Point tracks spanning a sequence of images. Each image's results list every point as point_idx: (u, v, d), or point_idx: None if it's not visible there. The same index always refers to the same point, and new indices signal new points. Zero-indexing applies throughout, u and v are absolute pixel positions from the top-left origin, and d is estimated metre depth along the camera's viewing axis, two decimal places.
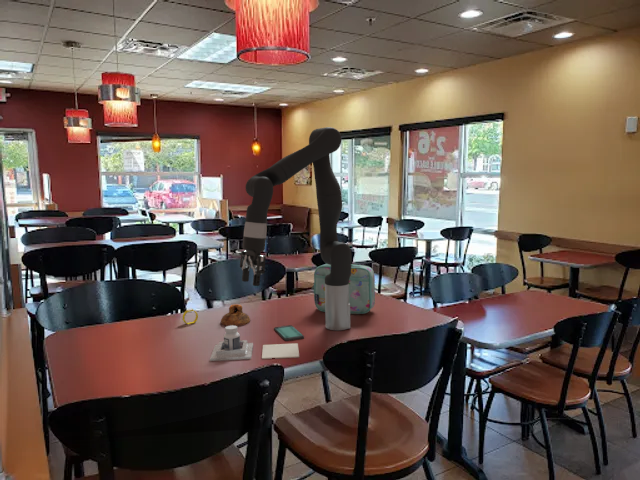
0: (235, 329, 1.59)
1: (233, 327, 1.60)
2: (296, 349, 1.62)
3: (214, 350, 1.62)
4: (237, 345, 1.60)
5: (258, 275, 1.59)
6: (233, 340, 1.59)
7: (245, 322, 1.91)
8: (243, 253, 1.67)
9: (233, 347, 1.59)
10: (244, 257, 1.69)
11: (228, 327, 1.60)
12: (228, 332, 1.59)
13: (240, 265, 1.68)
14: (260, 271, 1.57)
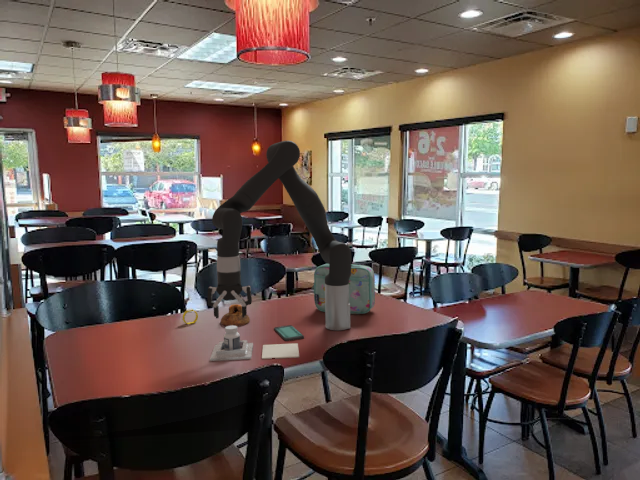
0: (235, 329, 1.59)
1: (233, 327, 1.60)
2: (296, 349, 1.62)
3: (214, 350, 1.62)
4: (237, 345, 1.60)
5: (246, 306, 1.60)
6: (233, 340, 1.59)
7: (245, 322, 1.91)
8: (211, 290, 1.57)
9: (233, 347, 1.59)
10: None
11: (228, 327, 1.60)
12: (228, 332, 1.59)
13: (209, 303, 1.58)
14: (251, 301, 1.60)
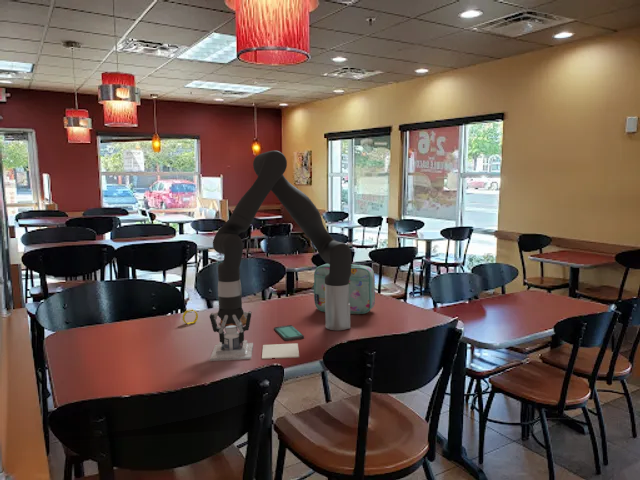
0: (235, 329, 1.59)
1: (233, 327, 1.60)
2: (296, 349, 1.62)
3: (214, 350, 1.62)
4: (237, 344, 1.60)
5: (243, 331, 1.61)
6: (233, 340, 1.59)
7: (245, 322, 1.91)
8: (213, 316, 1.59)
9: (233, 347, 1.59)
10: None
11: (228, 327, 1.60)
12: (228, 332, 1.59)
13: (215, 329, 1.59)
14: (248, 327, 1.61)
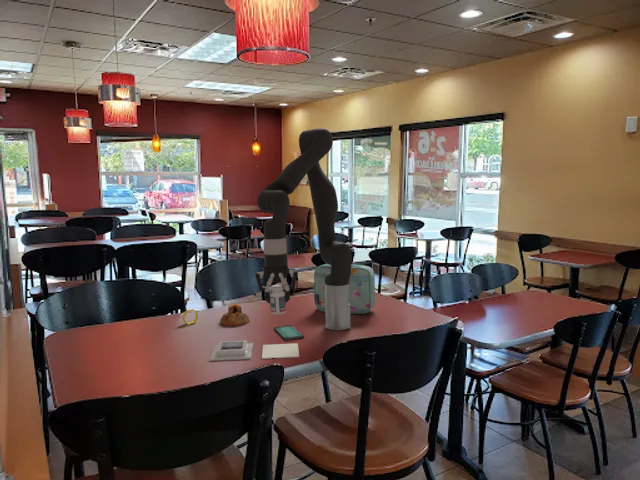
0: (281, 288, 1.58)
1: (279, 286, 1.59)
2: (296, 349, 1.62)
3: (214, 350, 1.62)
4: (284, 303, 1.59)
5: (289, 290, 1.60)
6: (279, 298, 1.57)
7: (244, 322, 1.91)
8: (259, 275, 1.57)
9: (279, 306, 1.58)
10: None
11: (274, 286, 1.59)
12: (274, 291, 1.58)
13: (261, 288, 1.58)
14: (294, 286, 1.59)
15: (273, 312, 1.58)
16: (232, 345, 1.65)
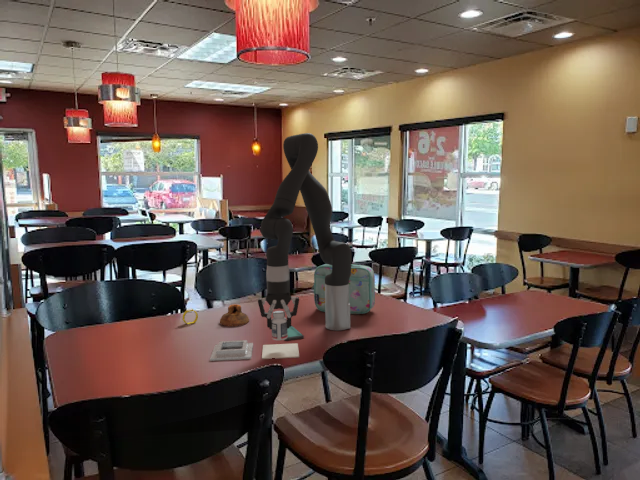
0: (283, 314, 1.59)
1: (281, 312, 1.60)
2: (296, 349, 1.62)
3: (214, 350, 1.62)
4: (285, 330, 1.59)
5: None
6: (281, 325, 1.58)
7: (244, 322, 1.91)
8: (261, 301, 1.58)
9: (281, 332, 1.59)
10: None
11: (276, 312, 1.60)
12: (276, 317, 1.59)
13: (263, 314, 1.59)
14: None
15: (274, 338, 1.59)
16: (232, 345, 1.65)
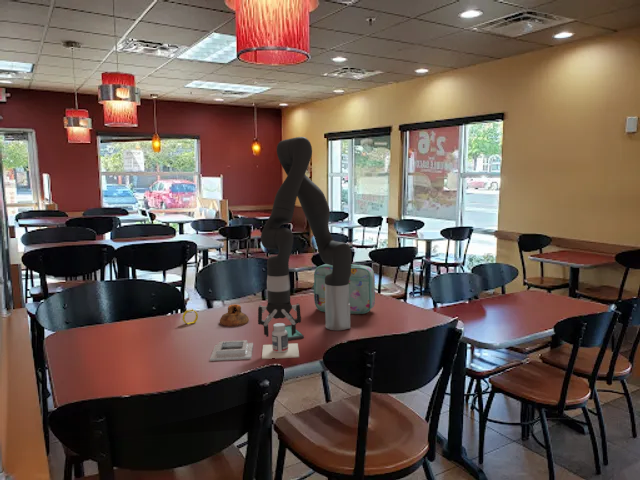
0: (283, 326, 1.60)
1: (281, 325, 1.60)
2: (296, 349, 1.62)
3: (214, 350, 1.62)
4: (286, 342, 1.60)
5: (295, 324, 1.61)
6: (281, 337, 1.59)
7: (244, 322, 1.91)
8: (261, 309, 1.59)
9: (282, 344, 1.59)
10: None
11: (276, 325, 1.61)
12: (277, 329, 1.59)
13: (260, 322, 1.59)
14: (300, 319, 1.61)
15: (275, 351, 1.60)
16: (232, 345, 1.65)
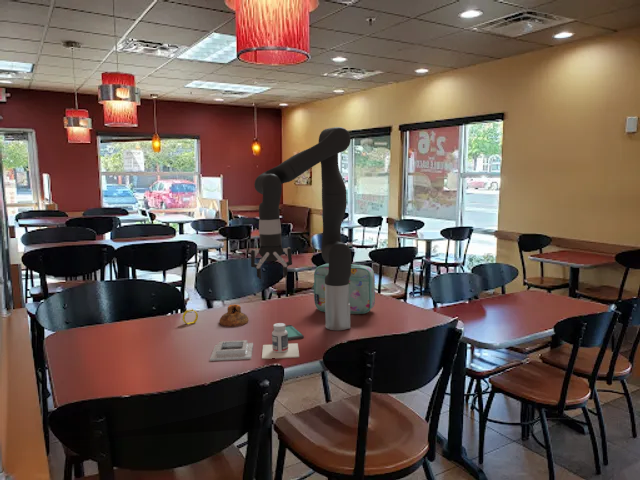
0: (283, 326, 1.60)
1: (281, 325, 1.61)
2: (296, 349, 1.62)
3: (214, 350, 1.62)
4: (286, 342, 1.60)
5: (287, 266, 1.69)
6: (281, 337, 1.59)
7: (243, 322, 1.91)
8: (254, 252, 1.67)
9: (282, 344, 1.59)
10: None
11: (276, 325, 1.61)
12: (277, 329, 1.59)
13: (253, 265, 1.67)
14: (291, 262, 1.69)
15: (275, 351, 1.60)
16: (232, 345, 1.65)
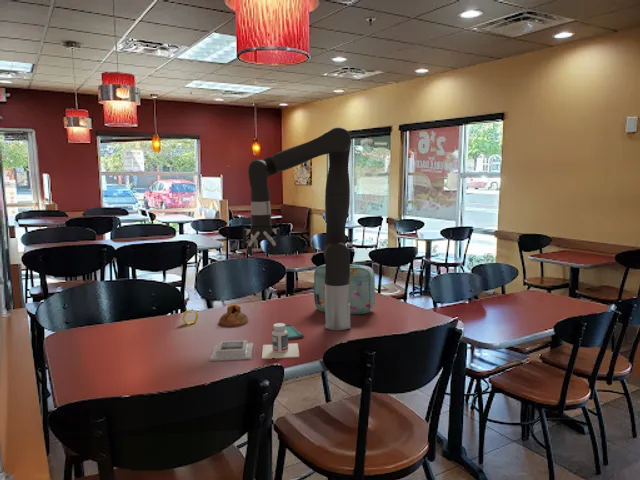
0: (283, 327, 1.60)
1: (281, 325, 1.60)
2: (296, 349, 1.62)
3: (214, 350, 1.62)
4: (286, 342, 1.60)
5: None
6: (281, 337, 1.59)
7: (243, 322, 1.91)
8: (246, 231, 1.83)
9: (282, 345, 1.59)
10: None
11: (276, 325, 1.61)
12: (277, 330, 1.59)
13: (244, 243, 1.83)
14: None
15: (275, 351, 1.60)
16: (232, 345, 1.65)
